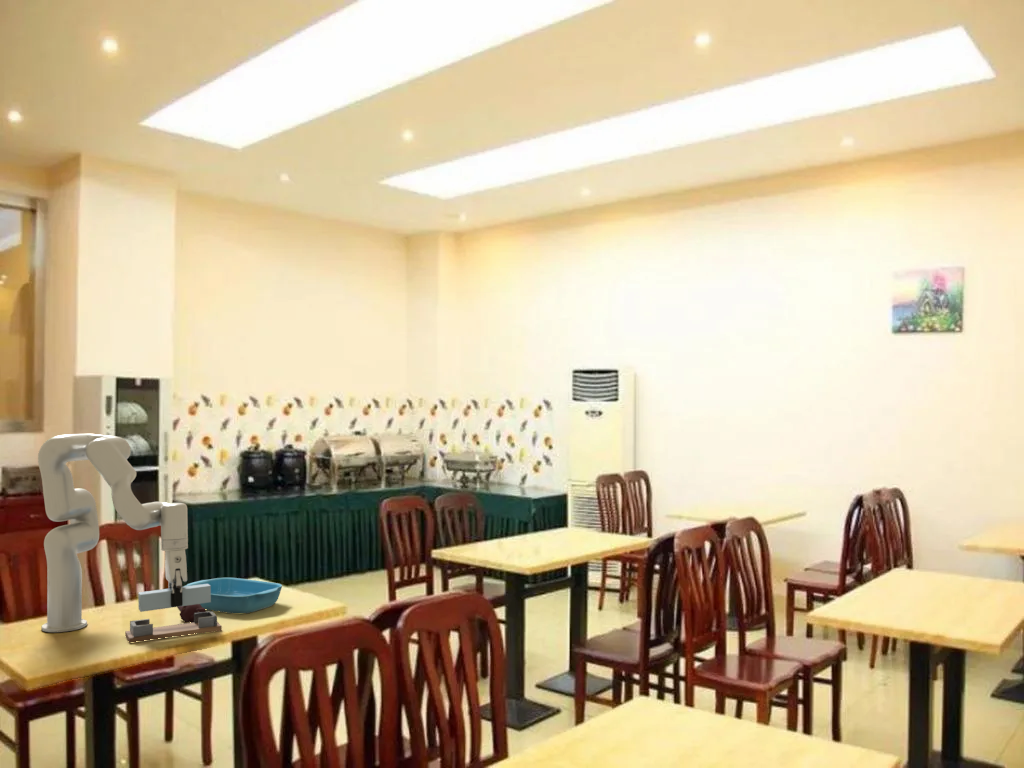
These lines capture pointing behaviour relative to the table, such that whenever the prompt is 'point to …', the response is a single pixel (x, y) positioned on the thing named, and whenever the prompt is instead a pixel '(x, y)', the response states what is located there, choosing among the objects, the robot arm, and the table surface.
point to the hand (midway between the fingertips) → (175, 604)
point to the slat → (163, 597)
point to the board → (173, 631)
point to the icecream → (190, 612)
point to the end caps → (146, 628)
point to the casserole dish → (240, 594)
